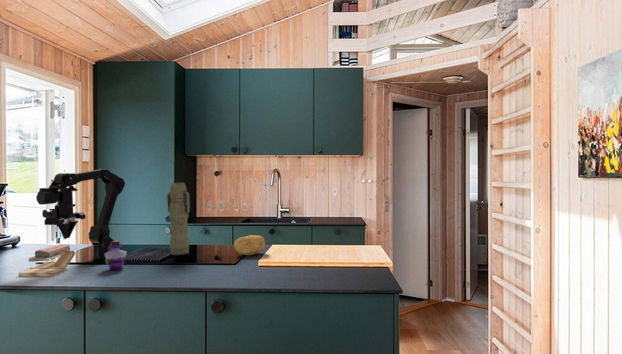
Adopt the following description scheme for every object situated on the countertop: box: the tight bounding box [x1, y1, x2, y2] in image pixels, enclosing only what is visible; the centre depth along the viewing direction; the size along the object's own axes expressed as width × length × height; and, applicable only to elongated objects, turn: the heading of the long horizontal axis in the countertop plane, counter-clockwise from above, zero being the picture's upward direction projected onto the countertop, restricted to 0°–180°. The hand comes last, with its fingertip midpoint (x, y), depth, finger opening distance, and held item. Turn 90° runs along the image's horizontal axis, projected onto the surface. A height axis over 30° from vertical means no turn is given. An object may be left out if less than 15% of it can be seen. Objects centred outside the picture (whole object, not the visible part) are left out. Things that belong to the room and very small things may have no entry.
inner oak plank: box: [52, 250, 76, 271], centre depth 175 cm, size 5×9×1 cm
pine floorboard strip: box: [18, 267, 65, 277], centre depth 168 cm, size 14×7×2 cm, turn 87°
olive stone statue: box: [166, 181, 191, 256], centre depth 203 cm, size 9×12×35 cm
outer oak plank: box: [32, 261, 56, 268], centre depth 176 cm, size 5×9×1 cm, turn 177°
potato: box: [233, 234, 266, 256], centre depth 198 cm, size 10×14×10 cm
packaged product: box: [28, 243, 71, 261], centre depth 201 cm, size 18×5×10 cm
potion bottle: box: [104, 240, 128, 271], centre depth 174 cm, size 9×9×12 cm
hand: (66, 238), depth 177 cm, fingers closed
